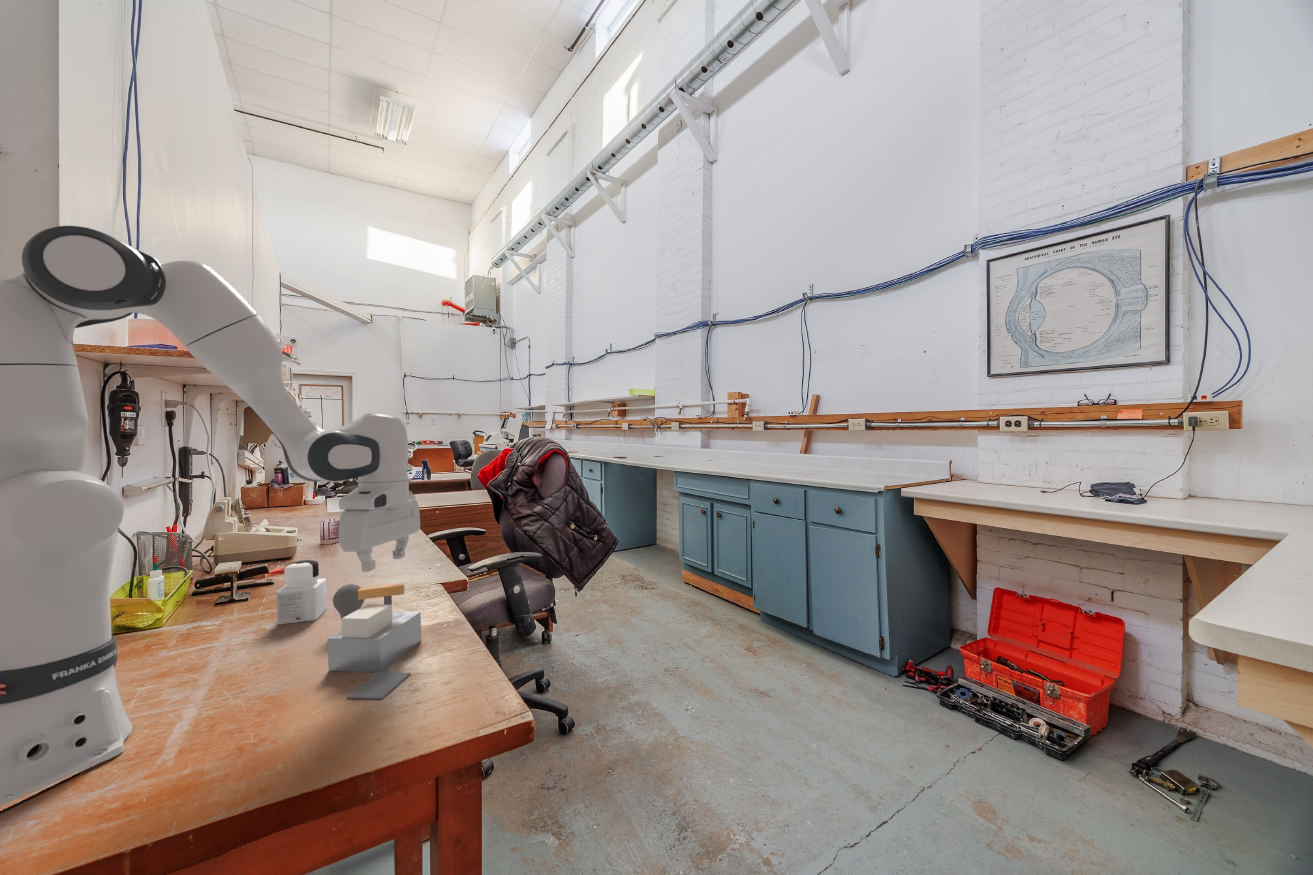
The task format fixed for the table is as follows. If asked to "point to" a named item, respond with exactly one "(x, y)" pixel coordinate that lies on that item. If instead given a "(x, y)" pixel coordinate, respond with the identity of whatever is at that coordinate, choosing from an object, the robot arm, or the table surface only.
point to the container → (301, 593)
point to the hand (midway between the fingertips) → (384, 564)
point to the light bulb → (347, 600)
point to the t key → (382, 592)
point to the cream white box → (366, 621)
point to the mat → (379, 685)
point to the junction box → (375, 645)
